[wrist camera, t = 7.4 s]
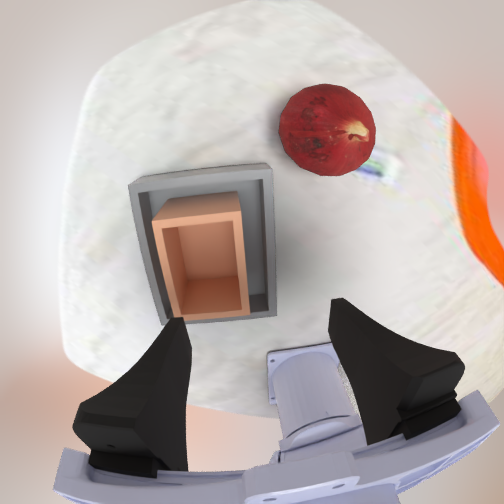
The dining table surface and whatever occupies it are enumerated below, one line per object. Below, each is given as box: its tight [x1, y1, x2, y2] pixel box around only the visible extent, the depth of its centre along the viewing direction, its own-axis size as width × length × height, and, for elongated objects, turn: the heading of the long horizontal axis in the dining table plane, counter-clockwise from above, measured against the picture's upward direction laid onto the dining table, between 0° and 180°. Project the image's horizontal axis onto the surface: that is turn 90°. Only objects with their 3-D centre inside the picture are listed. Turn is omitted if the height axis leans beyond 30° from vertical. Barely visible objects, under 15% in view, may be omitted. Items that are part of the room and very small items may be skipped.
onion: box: [279, 84, 376, 176], centre depth 15 cm, size 6×6×8 cm
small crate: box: [152, 191, 250, 321], centre depth 19 cm, size 7×5×5 cm
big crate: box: [128, 163, 277, 325], centre depth 20 cm, size 11×9×3 cm
